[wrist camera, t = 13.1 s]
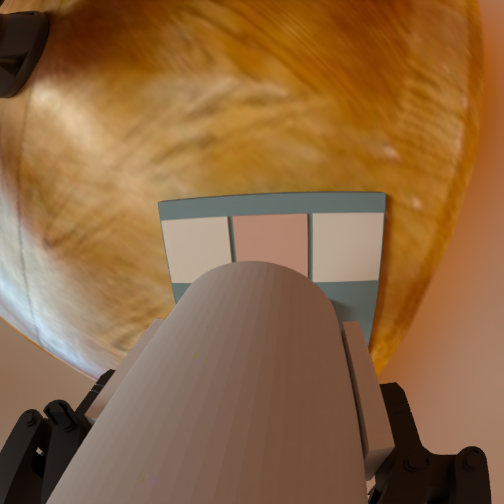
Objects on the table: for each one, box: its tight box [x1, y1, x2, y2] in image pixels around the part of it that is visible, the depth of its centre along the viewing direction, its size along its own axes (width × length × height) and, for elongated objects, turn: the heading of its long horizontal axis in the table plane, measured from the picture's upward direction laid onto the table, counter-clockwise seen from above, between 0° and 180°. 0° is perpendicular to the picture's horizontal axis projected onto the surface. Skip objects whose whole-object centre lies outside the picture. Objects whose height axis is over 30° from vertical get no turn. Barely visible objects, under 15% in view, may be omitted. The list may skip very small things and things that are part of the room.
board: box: [158, 191, 386, 347], centre depth 26 cm, size 21×20×4 cm
